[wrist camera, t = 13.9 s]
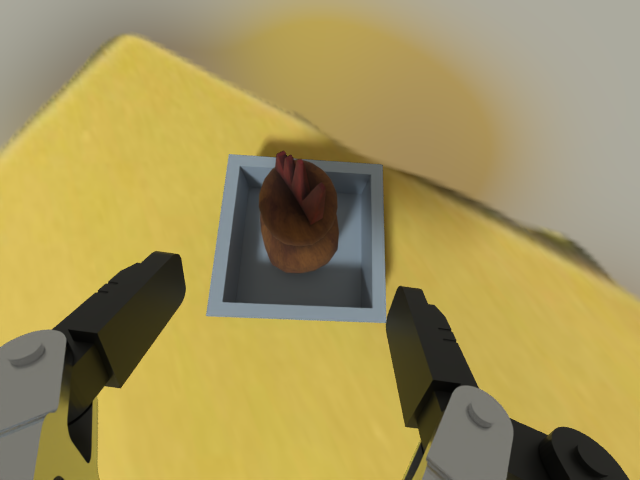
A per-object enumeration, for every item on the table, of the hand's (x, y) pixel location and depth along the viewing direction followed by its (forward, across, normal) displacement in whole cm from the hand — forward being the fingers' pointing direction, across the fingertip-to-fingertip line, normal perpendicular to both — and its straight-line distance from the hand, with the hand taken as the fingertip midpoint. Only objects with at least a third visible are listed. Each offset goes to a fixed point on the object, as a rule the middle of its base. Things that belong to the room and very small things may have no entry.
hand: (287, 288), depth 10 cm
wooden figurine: (+14, +1, +6) cm, 15 cm away
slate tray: (+14, 0, +7) cm, 16 cm away
